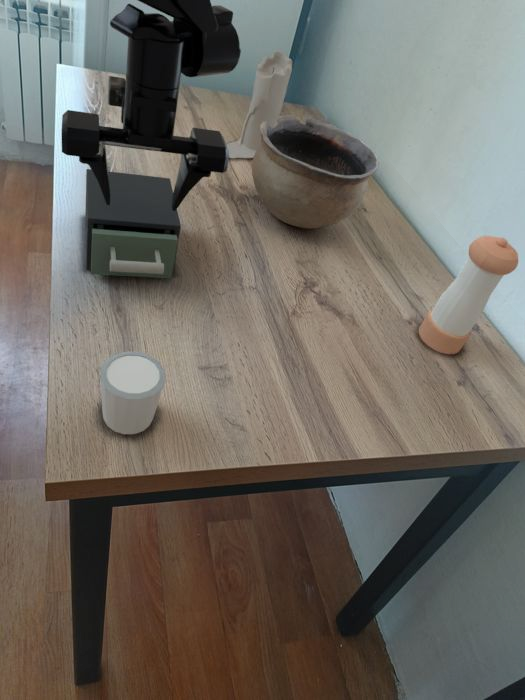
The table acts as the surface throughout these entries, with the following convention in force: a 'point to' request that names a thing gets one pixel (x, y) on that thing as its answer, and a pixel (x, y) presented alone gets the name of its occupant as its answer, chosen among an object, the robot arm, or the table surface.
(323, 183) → the ceramic bowl
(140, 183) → the cabinet
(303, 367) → the table surface
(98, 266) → the drawer
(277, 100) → the candle
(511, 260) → the salt shaker
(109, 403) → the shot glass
